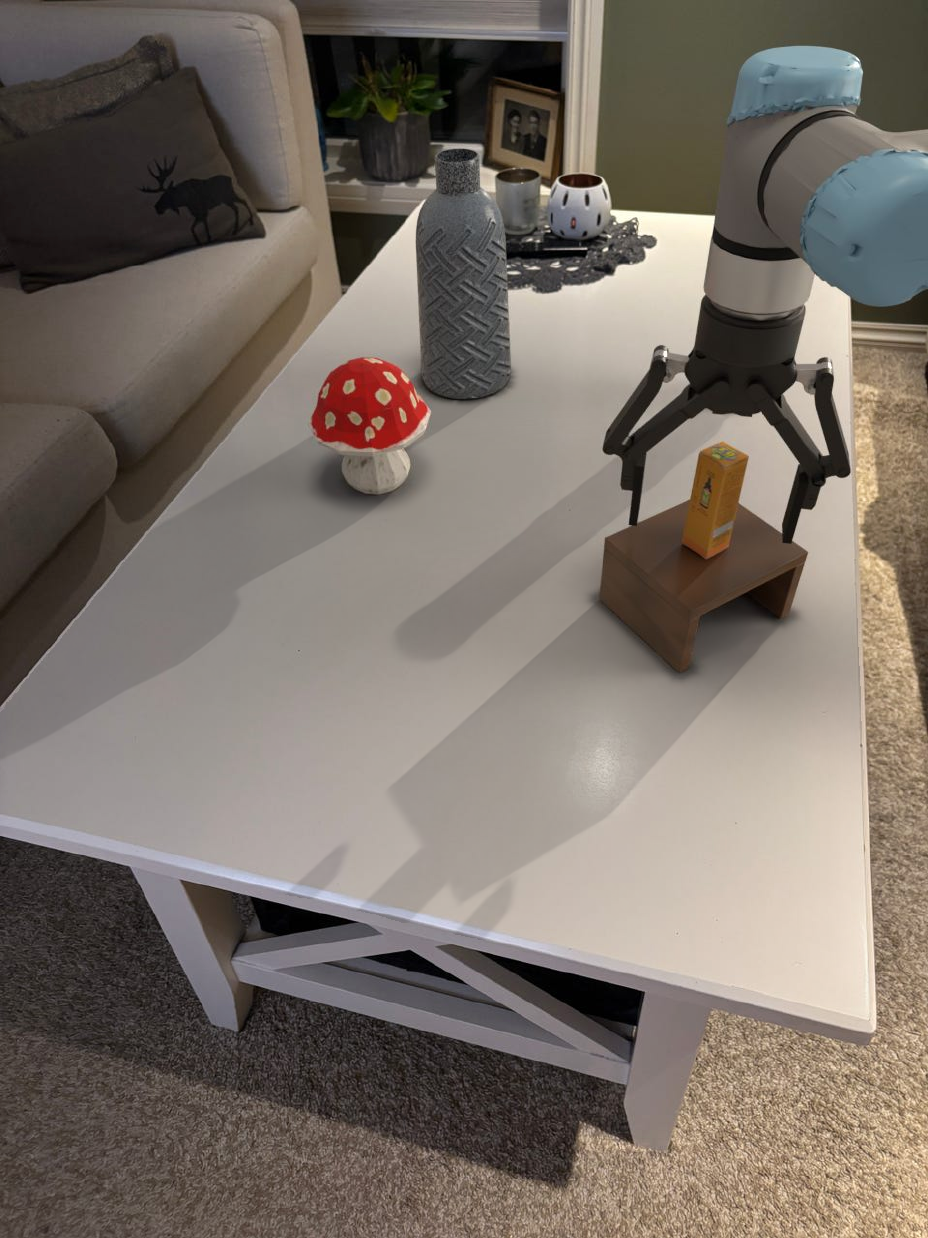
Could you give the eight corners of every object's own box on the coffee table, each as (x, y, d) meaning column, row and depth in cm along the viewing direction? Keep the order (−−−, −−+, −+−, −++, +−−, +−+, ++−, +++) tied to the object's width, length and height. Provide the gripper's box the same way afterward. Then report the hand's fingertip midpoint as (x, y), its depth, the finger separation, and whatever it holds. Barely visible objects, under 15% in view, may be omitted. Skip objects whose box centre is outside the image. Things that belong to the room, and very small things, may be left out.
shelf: (789, 614, 85) (808, 551, 80) (679, 673, 80) (691, 611, 75) (704, 548, 93) (716, 487, 87) (598, 599, 88) (604, 537, 82)
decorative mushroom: (441, 508, 99) (433, 390, 89) (319, 521, 99) (296, 404, 88) (430, 440, 109) (421, 327, 99) (319, 452, 108) (298, 339, 98)
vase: (414, 399, 116) (393, 172, 97) (431, 354, 125) (415, 138, 105) (505, 403, 115) (502, 174, 95) (515, 357, 123) (515, 138, 103)
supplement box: (732, 546, 80) (753, 455, 73) (705, 561, 79) (723, 470, 72) (705, 528, 82) (723, 438, 75) (679, 542, 81) (694, 452, 74)
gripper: (929, 286, 64) (851, 515, 79) (592, 266, 69) (578, 486, 84) (943, 334, 59) (857, 569, 74) (578, 309, 64) (566, 534, 79)
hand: (709, 525), depth 79 cm, fingers open, 13 cm apart
